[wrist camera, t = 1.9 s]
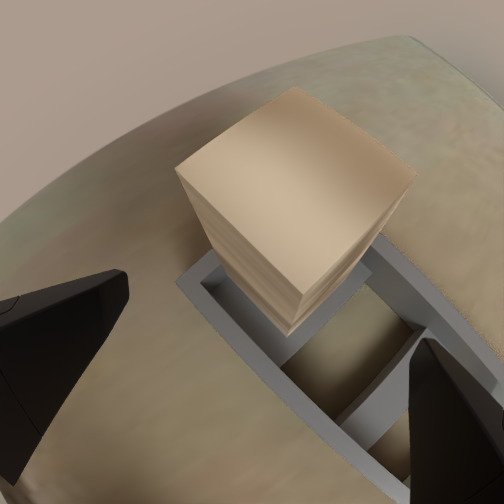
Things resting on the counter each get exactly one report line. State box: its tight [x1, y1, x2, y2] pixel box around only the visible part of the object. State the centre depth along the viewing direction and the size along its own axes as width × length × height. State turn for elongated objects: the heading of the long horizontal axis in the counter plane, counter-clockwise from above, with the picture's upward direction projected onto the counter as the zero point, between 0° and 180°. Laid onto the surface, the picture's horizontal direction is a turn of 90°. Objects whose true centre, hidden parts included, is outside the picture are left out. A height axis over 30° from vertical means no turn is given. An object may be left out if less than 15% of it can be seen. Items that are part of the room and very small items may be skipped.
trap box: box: [174, 232, 504, 504], centre depth 15 cm, size 10×27×4 cm, turn 43°
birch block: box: [174, 86, 418, 338], centre depth 13 cm, size 5×5×11 cm
